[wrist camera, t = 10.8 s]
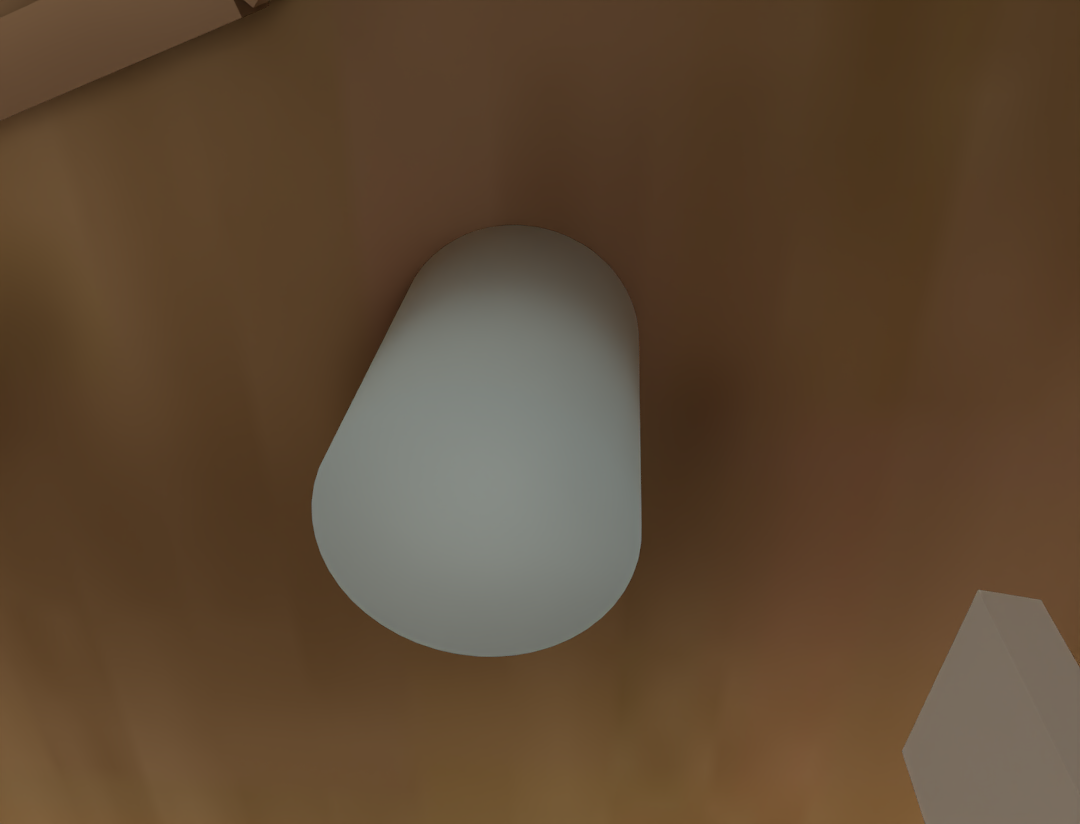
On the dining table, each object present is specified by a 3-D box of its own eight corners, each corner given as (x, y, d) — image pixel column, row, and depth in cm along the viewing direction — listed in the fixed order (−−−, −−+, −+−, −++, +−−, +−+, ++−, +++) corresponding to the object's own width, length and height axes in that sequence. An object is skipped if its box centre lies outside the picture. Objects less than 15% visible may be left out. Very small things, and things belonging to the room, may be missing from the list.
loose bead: (662, 249, 18) (674, 417, 13) (614, 461, 20) (606, 679, 15) (412, 204, 18) (319, 354, 13) (390, 421, 20) (304, 627, 15)
